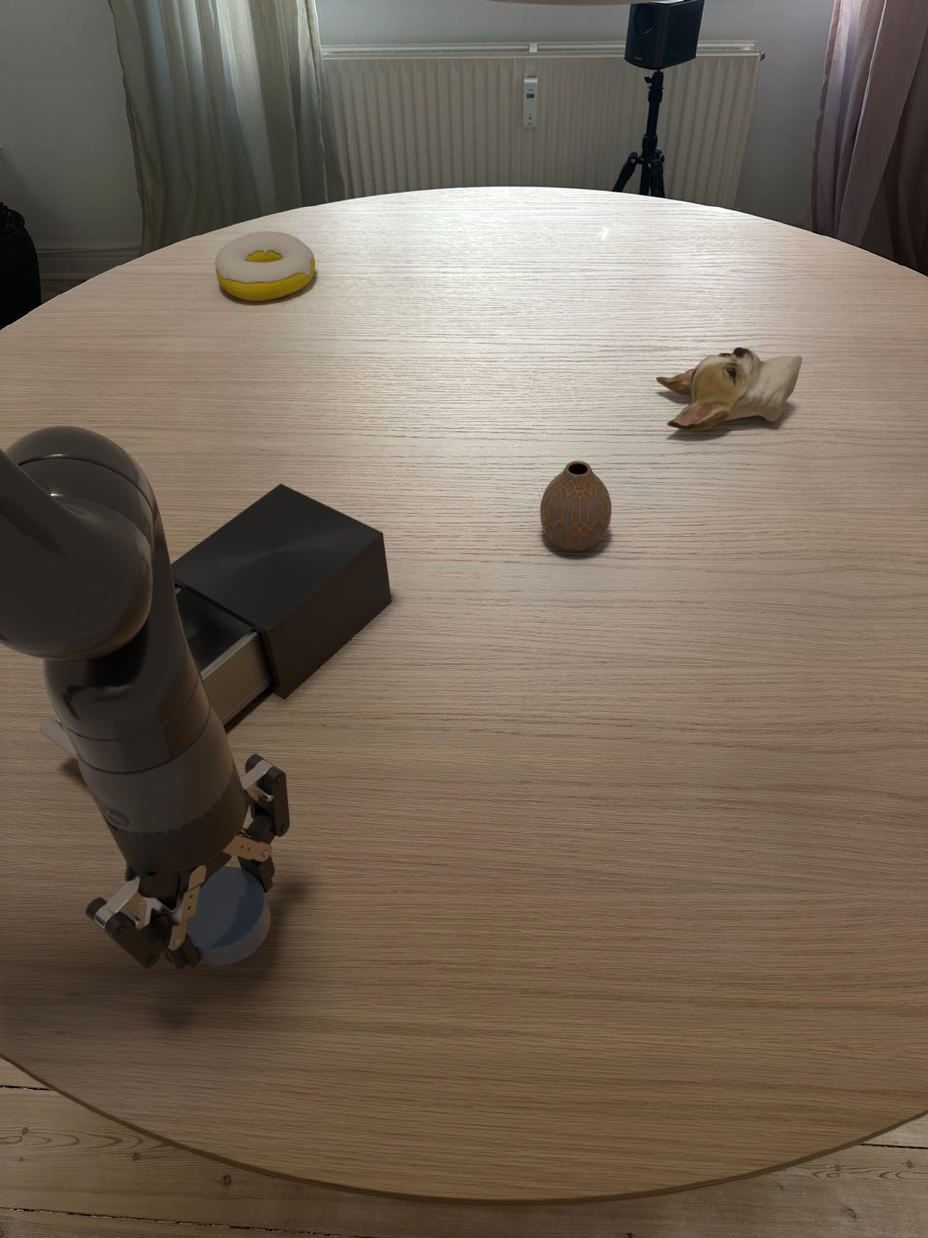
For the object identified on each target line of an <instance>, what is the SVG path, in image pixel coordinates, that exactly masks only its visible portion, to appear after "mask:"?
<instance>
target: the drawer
mask: <svg viewBox="0 0 928 1238" xmlns="http://www.w3.org/2000/svg"><path fill="white" fill-rule="evenodd" d="M175 591H176V598H177V604H178V610H179V613H180V617H181V621H182V624H183V628H184V631H185V634H186V637H187V639H188V642H189V644H190V646H191V648H192V651H193V653H194V655H195V658H196V661H197V664H198V667H199V670H200V673H201V676H202V679H203V682H204V685H205V688H206V691H207V695H208V697H209V699H210V701H211V703H212V705H213V706H214V708H215V710H216V712H217V714H218V715H219V718H220V720H221V723H222V725H223V727H225V725H226V724H228V722H230V721H231V720H232V719H233V718H234V717H235V716H236V715H237V714H239V713H240V712H241V711H242V710H243V709H244V708H245V707H247V706H248V705H249V704H250V703H251V702H253V700H255V699H256V698H257V697H258V696H259V695H260V694H261V693H262V692H264V691H265V690H266V689H267V687H268V686H269V685H270V684H271V683H272V682H273V681H274V678H273V674H272V670H271V667H270V663H269V659H268V655H267V652H266V648H265V644H264V640H263V637H262V633H260V632H258V631H257V630H255V629H253V628H251V627H250V626H248V625H246V624H244V623H243V622H241V621H239V620H238V619H236V618H234V617H232V616H231V615H229V614H227V613H226V612H224V611H222V610H220V609H219V608H217V607H215V606H213V605H212V604H210V603H208V602H207V601H205V600H203V599H201V598H200V597H198V596H196V595H195V594H193V593H191V592H189V591H188V590H186V589H184V588H182V587H181V586H179V585H176V586H175ZM39 732H40V734H42V735H43V736H44V737H46V738H47V739H48V740H50V741H51V742H52V743H53V744H55V745H57V747H58V748H60V749H62V750H63V751H64V752H66V753H67V754H68V755H70V756H71V757H72V758H73V759H75V760H76V761H78V760H77V756H76V752H75V750H74V748H73V746H72V744H71V742H70V740H69V738H68V736H67V734H66V732H65V730H64V728H63V726H62V724H61V722H60V720H59V718H58V717H57V718H47V719H45V720H43V722H42V723H41V724H40V726H39Z"/></svg>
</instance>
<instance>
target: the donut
mask: <svg viewBox="0 0 928 1238" xmlns="http://www.w3.org/2000/svg"><path fill="white" fill-rule="evenodd" d="M214 266H215V275H216V278H217V282H218V283H219V286H221V287H222V289H224V291H226V292H227V293H228V294H230V295H232V296H233V297H235V298H238V299H241V300H243V301H251V302H260V301H262V302H263V301H269V300H274V299H278V298H282V297H285V296H288V295H291V294H293V293H295V292H298V291H299V290H301V289H303V288H304V287H305V286H306V285H308V283H309V282H310V281H311V279H312V278H313V276H314V273H315V269H316V259H315V255H314V253H313V251H312V249H311V248H310V247H309V246H308V245H307V244H306V243H304V242H302V241H301V240H300V239H299V238H298V237H296V236H294V235H292V234H289V233H285V232H280V231H269V230H264V231H254V232H250V233H247V234H244V235H241V236H239V237H237V238H235V239H233V240H231V241H229V242H228V243H226V244H224V245H223V246H222V247H221V248H220V249H219V250H218V253H217V255H216V258H215V261H214Z"/></svg>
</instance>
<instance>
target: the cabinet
mask: <svg viewBox="0 0 928 1238" xmlns="http://www.w3.org/2000/svg"><path fill="white" fill-rule="evenodd" d="M171 569H172V574H173V579H174V585H175V586H176V585H179V586H181V587H182V588H184V589H186V590H188V591H189V592H191V593H193V594H195V595H196V596H198V597H200V598H201V599H203V600H205V601H207V602H208V603H210V604H212V605H213V606H215V607H217V608H219V609H220V610H222V611H224V612H226V613H227V614H229V615H231V616H232V617H234V618H236V619H238V620H239V621H241V622H243V623H244V624H246V625H248V626H250V627H251V628H253V629H255V630H257V631H258V632H260V633H262V637H263V640H264V644H265V648H266V652H267V655H268V659H269V663H270V667H271V670H272V674H273V678H274V681H273V682H272V683H271V684H270V685H269V686H268V687H267V688H266V689H267V690H269V691H271V692H272V693H274V694H275V695H277V696H279V697H280V698H282V699H284V700H285V699H286V698H288V696H290V695H291V694H292V693H293V692H294V691H295V690H296V689H297V688H298V687H299V686H301V685H302V684H303V683H304V682H305V681H306V680H307V679H308V678H309V677H310V676H312V675H313V674H314V673H315V672H316V671H317V670H318V669H319V668H321V666H323V665H324V664H325V663H326V662H327V661H328V660H329V659H330V658H331V657H333V656H334V655H335V654H336V653H337V652H338V651H339V650H340V649H341V648H342V647H344V646H345V645H346V644H347V643H348V642H349V641H350V640H351V639H352V638H353V637H355V636H356V635H357V634H358V633H359V632H360V631H361V630H362V629H364V628H365V627H366V625H368V624H369V623H370V622H371V621H372V620H373V619H375V617H376V616H378V615H379V614H380V613H381V612H382V611H384V609H385V608H387V606H389V604H390V603H392V593H391V586H390V585H391V584H390V578H389V570H388V561H387V555H386V545H385V538H384V532H382V531H381V530H379V529H377V528H374V527H372V526H371V525H368V524H366V523H364V522H362V521H360V520H358V519H356V518H354V517H351V516H350V515H347V514H345V513H343V512H341V511H339V510H337V509H335V508H333V507H331V506H329V505H327V504H324V503H322V502H320V501H318V500H316V499H314V498H311V497H310V496H308V495H306V494H304V493H302V492H299V491H298V490H296V489H293V488H291V487H289V486H287V485H285V484H283V483H279V484H278V485H276V486H275V487H274V488H273V489H271V490H270V491H268V492H267V493H266V494H264V495H263V496H262V497H260V498H259V499H258V500H256V501H255V502H253V503H252V504H251V505H249V506H248V507H247V508H245V509H244V510H242V511H241V512H240V513H238V514H237V515H236V516H234V517H233V518H232V519H230V520H229V521H227V522H226V523H225V524H223V525H222V526H221V527H219V528H218V529H217V530H215V531H214V532H212V533H211V534H210V535H208V536H207V537H206V538H204V539H203V540H201V541H200V542H199V543H198V544H196V545H195V546H193V547H192V548H191V549H189V550H188V551H186V552H185V553H183V555H181V556H180V557H179V558H177V559H176V560H175V561H172V562H171Z"/></svg>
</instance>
